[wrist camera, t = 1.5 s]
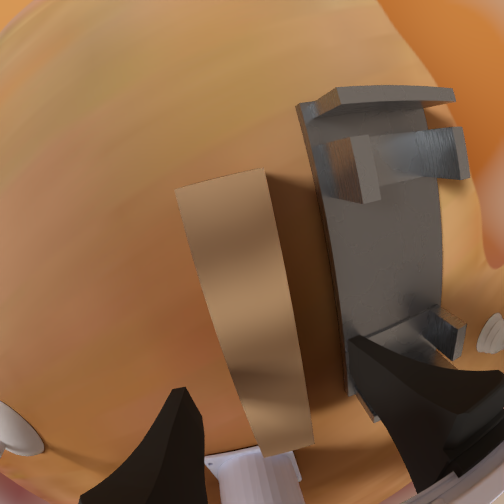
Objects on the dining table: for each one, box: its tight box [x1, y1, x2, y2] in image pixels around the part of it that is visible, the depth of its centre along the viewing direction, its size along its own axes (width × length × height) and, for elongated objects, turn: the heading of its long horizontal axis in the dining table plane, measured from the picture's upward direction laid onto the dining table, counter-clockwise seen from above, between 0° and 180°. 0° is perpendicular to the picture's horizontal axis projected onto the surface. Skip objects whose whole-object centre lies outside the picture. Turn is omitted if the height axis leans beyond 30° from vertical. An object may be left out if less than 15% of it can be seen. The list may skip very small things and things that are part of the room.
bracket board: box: [295, 85, 470, 423], centre depth 16 cm, size 21×9×4 cm, turn 14°
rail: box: [174, 168, 315, 458], centre depth 15 cm, size 17×4×5 cm, turn 13°
